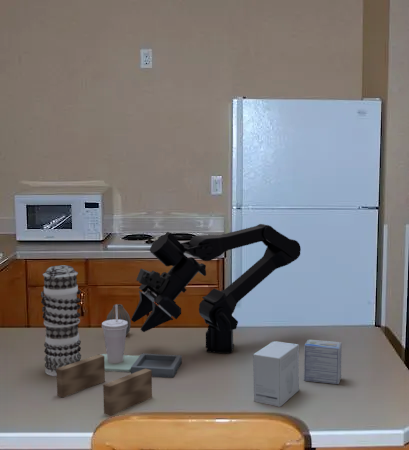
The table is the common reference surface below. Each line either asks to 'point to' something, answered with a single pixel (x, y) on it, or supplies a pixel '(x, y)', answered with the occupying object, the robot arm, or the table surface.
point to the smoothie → (115, 338)
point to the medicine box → (322, 361)
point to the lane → (113, 391)
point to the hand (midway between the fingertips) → (137, 325)
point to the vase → (120, 315)
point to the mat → (120, 364)
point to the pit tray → (158, 364)
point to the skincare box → (276, 373)
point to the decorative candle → (61, 317)
